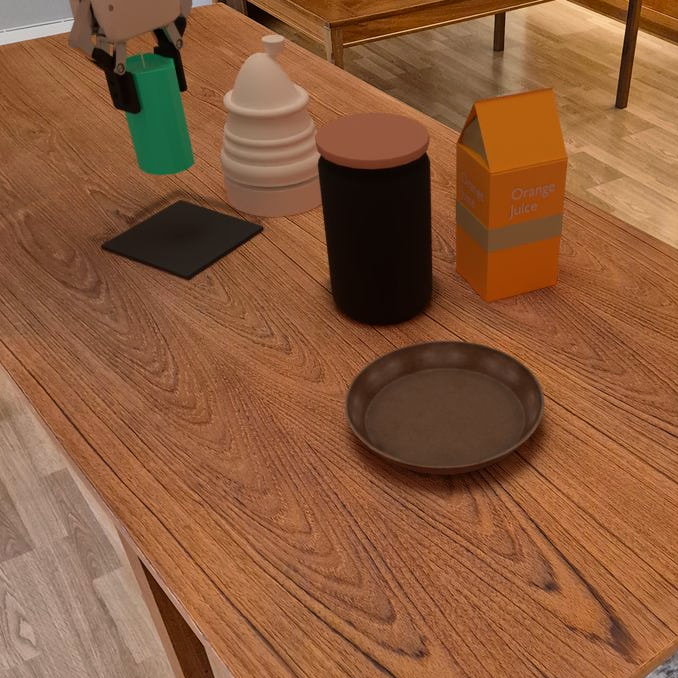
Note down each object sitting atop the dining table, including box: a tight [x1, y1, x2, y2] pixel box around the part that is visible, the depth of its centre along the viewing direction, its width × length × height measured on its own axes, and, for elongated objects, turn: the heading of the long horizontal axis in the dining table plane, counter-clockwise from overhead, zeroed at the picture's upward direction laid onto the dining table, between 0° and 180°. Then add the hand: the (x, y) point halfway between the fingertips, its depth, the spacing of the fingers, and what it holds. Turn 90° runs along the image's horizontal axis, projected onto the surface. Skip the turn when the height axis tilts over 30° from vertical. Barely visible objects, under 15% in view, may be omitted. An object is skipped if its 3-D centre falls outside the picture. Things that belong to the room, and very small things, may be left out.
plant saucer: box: [344, 340, 545, 476], centre depth 80 cm, size 18×18×3 cm
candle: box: [124, 46, 195, 176], centre depth 93 cm, size 6×6×12 cm
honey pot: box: [219, 34, 322, 218], centre depth 106 cm, size 13×13×18 cm
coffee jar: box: [315, 111, 434, 327], centre depth 89 cm, size 11×11×18 cm
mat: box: [100, 199, 265, 281], centre depth 103 cm, size 13×13×1 cm
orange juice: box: [455, 87, 569, 304], centre depth 92 cm, size 8×9×20 cm
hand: (151, 98), depth 92 cm, fingers closed on candle, 6 cm apart
